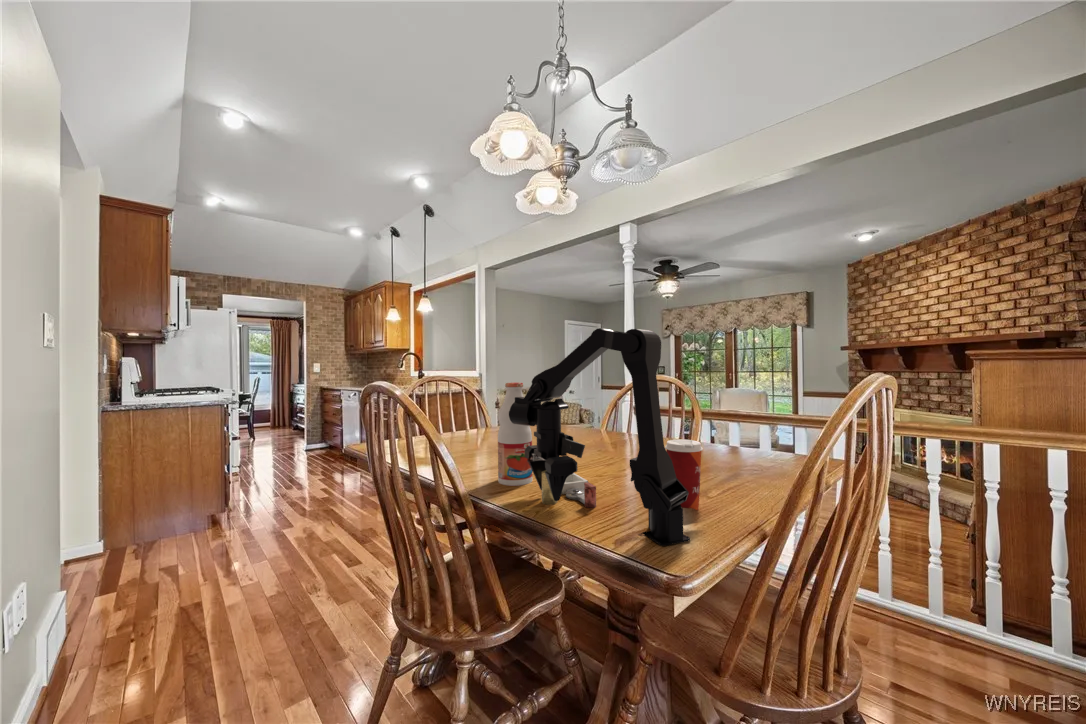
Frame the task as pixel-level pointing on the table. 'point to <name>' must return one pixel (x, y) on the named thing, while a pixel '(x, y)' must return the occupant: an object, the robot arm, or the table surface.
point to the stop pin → (546, 491)
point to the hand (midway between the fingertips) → (549, 495)
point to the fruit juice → (513, 443)
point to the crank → (584, 495)
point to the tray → (573, 482)
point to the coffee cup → (687, 467)
